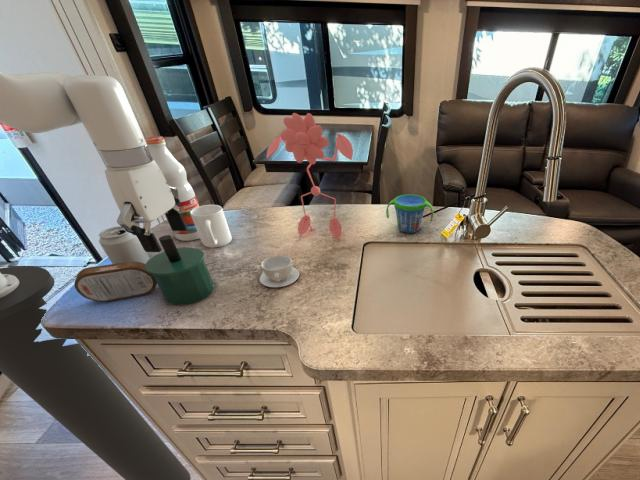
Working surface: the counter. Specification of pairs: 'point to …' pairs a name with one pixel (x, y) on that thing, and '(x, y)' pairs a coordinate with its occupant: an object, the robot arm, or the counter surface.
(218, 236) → the cup
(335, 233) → the figurine
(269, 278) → the teacup
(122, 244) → the can
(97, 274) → the tin
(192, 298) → the cup
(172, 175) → the fruit juice
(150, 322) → the counter surface
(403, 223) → the snack cup
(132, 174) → the robot arm
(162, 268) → the tin lid
